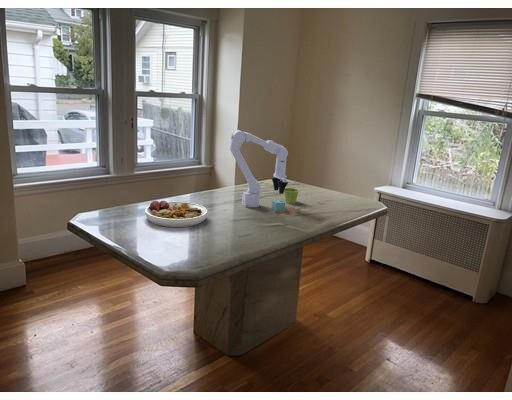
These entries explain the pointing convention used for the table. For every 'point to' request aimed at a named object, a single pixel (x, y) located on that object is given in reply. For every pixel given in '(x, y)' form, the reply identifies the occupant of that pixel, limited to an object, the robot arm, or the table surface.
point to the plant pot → (291, 195)
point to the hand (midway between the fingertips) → (278, 191)
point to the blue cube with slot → (278, 205)
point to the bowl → (175, 213)
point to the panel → (287, 211)
